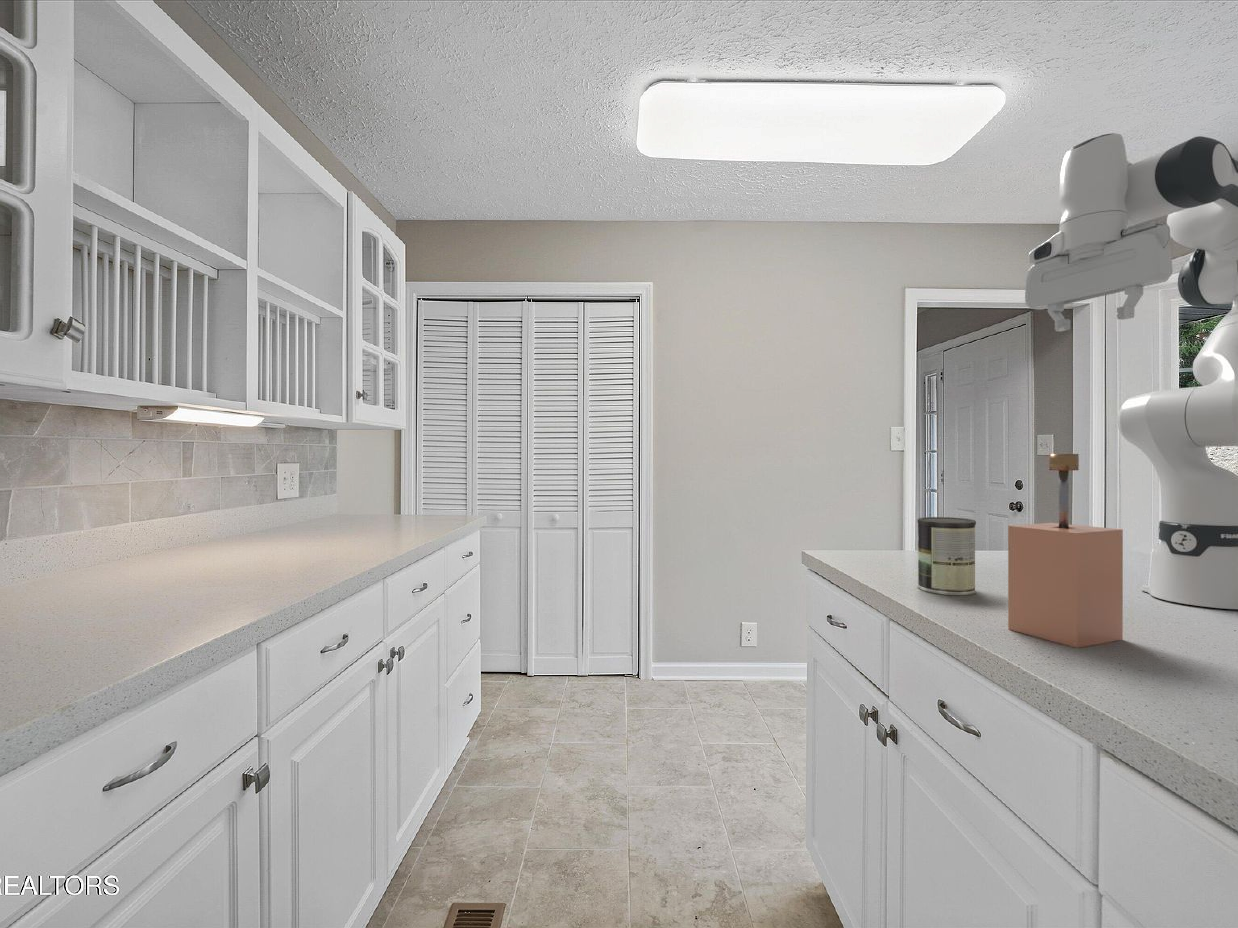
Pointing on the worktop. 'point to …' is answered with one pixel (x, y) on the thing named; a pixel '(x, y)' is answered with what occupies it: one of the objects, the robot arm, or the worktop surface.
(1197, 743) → the worktop surface
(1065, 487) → the plunger
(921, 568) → the coffee can
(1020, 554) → the block
